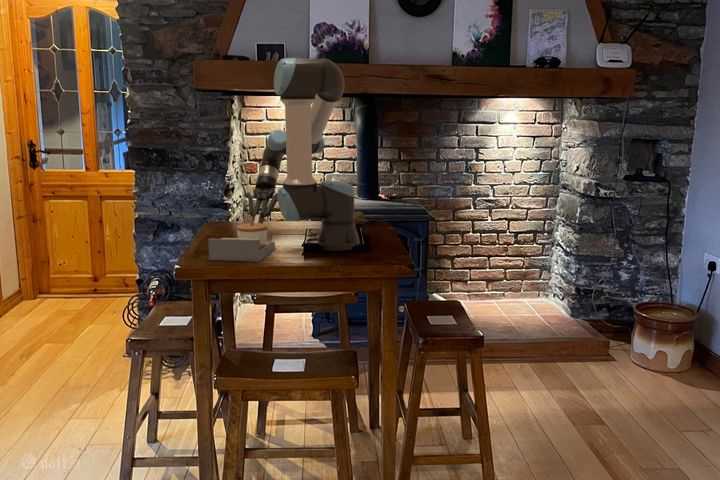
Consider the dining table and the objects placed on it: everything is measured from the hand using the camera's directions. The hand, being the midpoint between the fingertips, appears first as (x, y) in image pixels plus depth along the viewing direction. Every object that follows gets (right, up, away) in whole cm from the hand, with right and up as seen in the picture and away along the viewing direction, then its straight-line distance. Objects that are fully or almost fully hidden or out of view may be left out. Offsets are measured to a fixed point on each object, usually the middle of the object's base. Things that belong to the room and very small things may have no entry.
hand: (255, 231), depth 236 cm
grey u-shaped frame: (-1, -8, -15) cm, 17 cm away
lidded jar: (0, -6, -5) cm, 8 cm away
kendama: (+33, +2, +31) cm, 45 cm away
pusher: (-2, -9, -19) cm, 21 cm away
